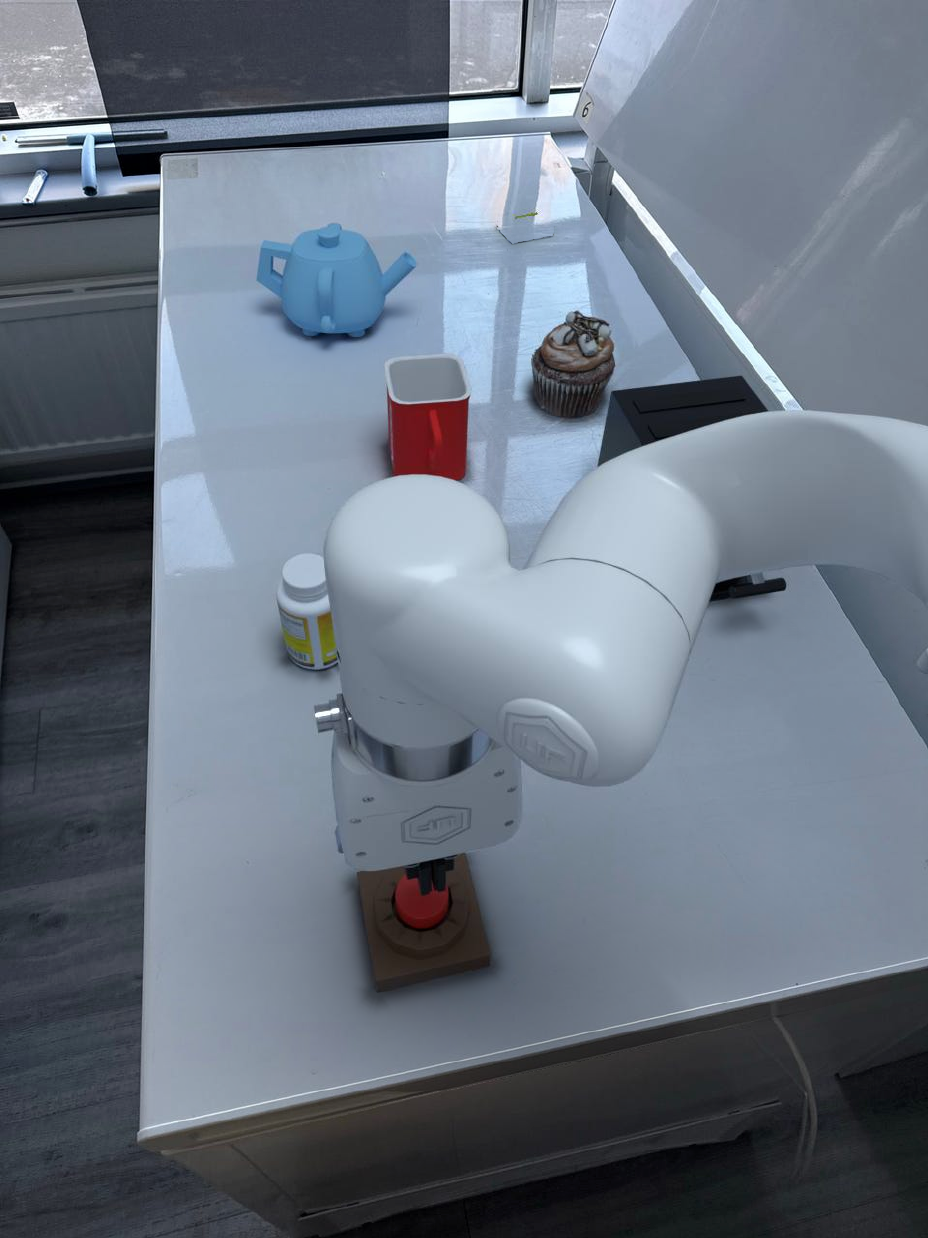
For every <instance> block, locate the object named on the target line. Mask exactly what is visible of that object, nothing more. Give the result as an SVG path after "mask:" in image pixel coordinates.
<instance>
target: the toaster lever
mask: <svg viewBox="0 0 928 1238" xmlns="http://www.w3.org/2000/svg"><path fill="white" fill-rule="evenodd" d="M746 578H747V582H748V583H746V584H739V585H733V586H730V588H729V595H730V597H729V598H731V600H736V599H742V598H748V597H756V596H761V595H767V594H772V593H779V592H785V591H786V589H787V581H786V580H785V578H784V577H776V578H771V579H764V574H763V572H762V573H757V574H752V575H747V576H746Z"/></svg>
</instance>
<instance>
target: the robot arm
mask: <svg viewBox="0 0 928 1238" xmlns="http://www.w3.org/2000/svg"><path fill="white" fill-rule="evenodd" d="M324 538H325V539H324V542H323V543H324V544H323V552H322V553H323V554H322V555H323V558H324V569H325V577H326V584H327V591H328V597H329V604H330V611H331V618H332V625H333V631H334V638H335V645H336V652H337V658H338V662H337V665H338V670H339V671H338V672H339V680H340V687H341V693H336V698H332V699H328V702H327V703H320V704H314V705H313V711H314V716H315V723H316V727H317V732H318V734H320V733H325V732H331V731H333V735H332V742H331V743H332V744H331V758H330V763H331V764H330V766H331V785H332V786H331V787H332V796H333V802H334V811H335V819H336V827H335V830H334V834H335V840H336V846H337V852H338V853H339V854H343V856H344V859H345V863H346V864H347V865H348V866H349V867H351V868H353V869H354V870H356V871H378V870H384V869H390V868H395V867H400V866H404V867H405V872H406V876H407V880H410V879H414V878H417V879H418V883H419V888H420V892H421V896H424V895H428V894H429V892H432V883H433V887H434V891H436V890H437V891H438V892H442V891H446V872H447V871H451V870H454V858H456V857H458V856H459V855H460V854H461V853H465V854H466V853H469V852H474V851H479V850H482V849H485V848H491V847H494V846H496V845H497V846H498V845H500V844H502V843H505V842H507V841H509V840H510V839H511V838H513V837H514V836H515V835H516V834H517V832H518V830H519V829H520V827H521V824H522V818H523V780H522V779H523V777H522V763H524V764H525V765H527V767H529V768H531V769H532V770H534V771H536V772H538V773H540V774H541V775H544V776H545V777H548V778H551V779H554V780H557V781H562V782H565V783H566V782H568V783H571V784H575V785H579V786H585V787H590V788H606V787H612V786H613V787H614V786H616V785H621V784H624V783H625V782H628V781H629V780H631V779H632V778H634V777H635V776H637V775H638V774H639V773H641V772H642V771H643V770H644V769H645V768H646V766H647V765H648V764H649V763H650V761H651V760H652V758H653V757H654V755H655V753H656V751H657V749H658V748H659V745H660V742H661V741H662V738H663V735H664V732H665V731H666V729H667V726H668V722H669V719H670V716H671V714H672V711H673V707H674V705H675V702H676V699H677V696H678V693H679V690H680V687H681V684H682V681H683V678H684V675H685V672H686V669H687V666H688V664H689V661H690V657H691V654H692V652H693V649H694V646H695V643H696V640H697V638H698V634H699V632H700V629H701V626H702V623H703V619H704V617H705V614H706V611H707V608H708V605H709V602H710V601H709V600H710V597H711V595H712V592H713V589H714V587H715V584H716V583H719V582H721V581H725V580H729V579H732V578H737V577H742V576H747V575H752V574H757V573H762V574H763V573H766V572H771V571H778V570H784V569H789V568H796V567H807V566H839V567H846V568H854V569H855V568H856V569H860V570H863V571H866V572H870V573H873V574H877V575H880V576H882V577H884V578H886V579H888V580H890V581H892V582H895V583H897V584H898V585H900V586H901V587H903V588H904V589H906V590H907V591H909V592H910V593H912V594H913V595H914V596H915V597H917V598H918V599H919V600H920V601H921V602H922V603H923V604H924V605H925V606H926V607H928V425H925V424H921V423H916V422H912V421H909V420H902V419H897V418H892V417H887V416H886V417H885V416H878V415H869V414H857V413H841V412H833V411H821V410H820V411H819V410H812V409H807V410H805V409H785V410H771V411H770V410H769V412H762V413H756V414H750V415H745V416H741V417H737V418H733V419H729V420H724V421H721V422H718V423H714V424H711V425H708V426H705V427H701V428H698V429H695V430H692V431H688V432H685V433H682V434H679V435H676V436H673V437H669V438H666V439H663V440H660V441H657V442H654V443H651V444H648V445H645V446H642V447H640V448H637V449H634V450H632V451H629V452H627V453H624V454H622V455H620V456H618V457H615V458H613V459H611V460H609V461H607V462H605V463H603V464H602V465H600V466H599V467H597V466H596V468H594V469H592V470H591V471H589V473H587V474H585V475H584V476H582V477H581V478H580V479H579V480H578V481H577V482H575V484H574V485H573V486H572V487H571V488H570V489H569V490H568V491H567V492H566V493H565V495H564V496H563V497H562V499H561V501H560V502H559V504H558V505H557V507H556V508H555V510H554V511H553V513H552V515H551V516H550V518H549V520H548V521H547V524H546V525H545V527H544V528H543V530H542V533H541V534H540V536H539V538H538V540H537V541H536V543H535V545H534V548H533V550H532V551H531V553H530V555H529V557H528V559H527V561H526V563H525V564H524V566H523V568H522V569H518V568H516V567H514V566H513V565H512V564H511V543H510V539H509V535H508V532H507V528H506V525H505V523H504V520H503V519H502V517H501V516H500V513H499V512H498V510H497V509H496V508H495V506H494V505H493V504H492V503H491V502H490V501H489V500H488V499H487V498H486V497H485V496H484V495H482V494H481V493H480V492H478V491H477V490H476V489H474V488H473V487H470V486H469V485H467V484H465V483H462V482H460V481H459V480H456V481H455V480H452V479H448V478H444V477H441V476H433V475H419V474H412V475H400V476H395V477H394V476H391V477H387V478H384V479H383V478H382V479H380V480H377V481H375V482H372V483H370V484H368V485H366V486H364V487H362V488H361V489H359V490H357V491H356V492H355V493H353V494H352V495H351V496H350V497H349V498H347V499H346V500H345V501H344V502H343V503H342V505H340V506H339V509H338V510H336V512H335V513H334V515H333V517H332V519H331V521H330V523H329V525H328V526H327V530H326V534H325V537H324Z"/></svg>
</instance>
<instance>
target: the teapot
mask: <svg viewBox="0 0 928 1238" xmlns="http://www.w3.org/2000/svg"><path fill="white" fill-rule="evenodd" d="M342 227H343V226H342V225H341V223H339V222H331V223H329V224H327V226H323V227H320V228H317V229H311V230H306V231H303V232H301V233H300V234H299V235H297V236H296V238H295V239H294V241H293V243H292V244H290V243H286V242H278V241H272V240H266V239H263V241H262V243H261V246H260V251H259V259H258V266H257V273H256V282H258V283H259V284H260V285H262V286H264V287H265V288H266V289H268V290H269V291H270V292H272V294H274V295H275V296H277V297H278V298H280V300H281V308H282V311H283V312H284V314H285V316H286V317H287V319H289V320H290V321H291V322H292V323H293V324H294V325H295V326H297V327H298V328H301V329H302V330H301V332H302V334H303V335H305V336H307V337H316V336H318V335H320V333H324V334H345V333H346V334H347V335H348V336H349V337H352V338H360V337H363V336H364V335H365V334H366V329H368V328H370V327H371V326H372V325H374V324H375V322H376V321H377V320H378V318H379V317H380V315H381V314H382V311H383V309H384V307H385V303H386V297H387V295H388V294H390V293H391V291H392V290H393V289H395V288H396V287H397V286H398V285H399V284H400V283H401V282H402V281H403V280H404V279H405V278H406V277H407V276H408V275H409V274H411V272H412V271H413V270H414V269H416V268H417V266H418V263H417V260H416V258H415V257H414V256H413V255H412V254H410V252H407V251H404V252H403V253H401V255H400V256H399V257H398V258H397V259H396V260H395V261H394V262H393V263H392V264H391V265H390V266H389V268H387V270H385V272H384V273H383V271H382V269H381V266H380V263H379V260H378V258H377V256H376V254H375V253H374V250H373V249H372V247H371V245H370V243H369V242H368V241H367V239H366V238H365V236H364V235H362V234H361V233H359V232H357V231H353V230H349V229H348V230H347V229H342ZM274 258H276V259H280V260H285V264H284V267H283V271H282V274H281V273H279V272H278V271H276V270H275V269H274Z"/></svg>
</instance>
